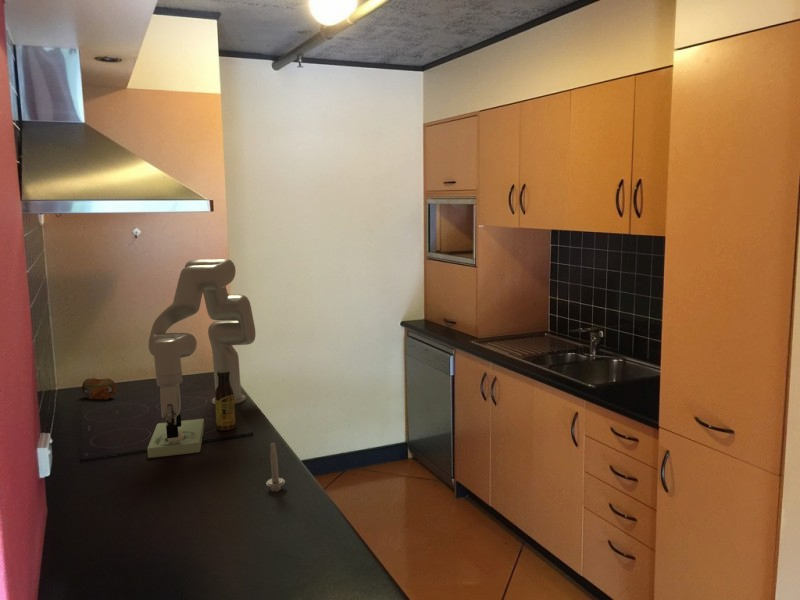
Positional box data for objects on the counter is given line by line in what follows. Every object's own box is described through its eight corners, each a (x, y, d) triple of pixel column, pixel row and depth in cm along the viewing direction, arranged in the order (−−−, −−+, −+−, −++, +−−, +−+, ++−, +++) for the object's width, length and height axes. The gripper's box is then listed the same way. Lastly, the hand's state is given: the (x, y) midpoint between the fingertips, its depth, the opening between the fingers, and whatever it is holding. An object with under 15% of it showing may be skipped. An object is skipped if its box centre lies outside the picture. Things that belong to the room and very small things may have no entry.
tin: (82, 398, 265) (80, 378, 263) (88, 396, 268) (86, 376, 266) (113, 400, 260) (111, 379, 259) (118, 398, 263) (116, 377, 262)
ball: (166, 448, 201) (168, 447, 206) (183, 446, 203) (185, 445, 207) (166, 431, 202) (168, 431, 207) (183, 430, 203) (184, 429, 208)
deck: (158, 432, 220) (157, 423, 220) (204, 427, 223) (203, 418, 223) (148, 458, 197) (147, 448, 196) (199, 452, 200) (199, 442, 200)
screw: (268, 495, 168) (265, 487, 173) (287, 491, 170) (283, 484, 174) (264, 446, 166) (261, 440, 171) (283, 443, 168) (280, 437, 172)
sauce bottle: (224, 433, 217) (220, 374, 214) (213, 429, 220) (208, 372, 218) (240, 427, 222) (236, 370, 219) (228, 424, 226) (224, 368, 223)
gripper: (160, 372, 207) (165, 424, 210) (152, 387, 191) (158, 443, 193) (184, 370, 209) (189, 421, 212) (179, 385, 192) (184, 440, 195)
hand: (174, 432), depth 202 cm, fingers open, 9 cm apart
